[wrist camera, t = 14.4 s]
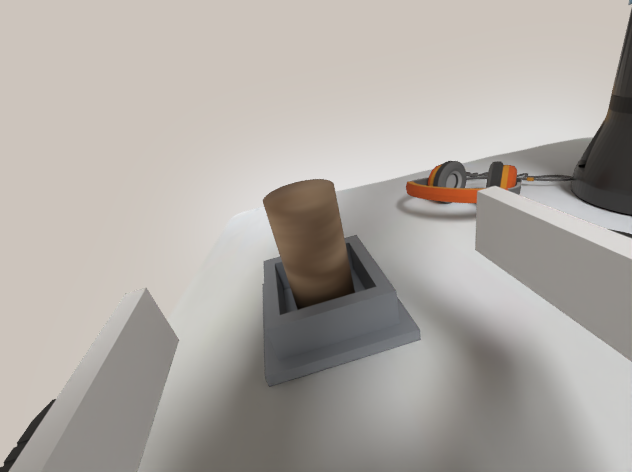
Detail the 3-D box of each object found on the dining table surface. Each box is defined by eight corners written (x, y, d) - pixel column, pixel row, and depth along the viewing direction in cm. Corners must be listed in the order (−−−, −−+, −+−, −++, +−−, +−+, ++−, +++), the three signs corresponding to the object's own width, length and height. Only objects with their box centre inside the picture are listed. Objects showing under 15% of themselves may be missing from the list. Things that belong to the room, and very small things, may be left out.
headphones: (582, 154, 36) (544, 172, 24) (573, 196, 38) (532, 234, 25) (447, 154, 48) (373, 166, 36) (444, 187, 50) (373, 209, 37)
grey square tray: (368, 261, 31) (362, 228, 29) (420, 339, 21) (417, 295, 19) (265, 291, 30) (253, 258, 28) (269, 386, 20) (250, 345, 18)
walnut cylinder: (347, 278, 27) (325, 174, 23) (364, 314, 23) (342, 193, 18) (294, 293, 27) (262, 191, 22) (302, 332, 22) (263, 214, 18)
